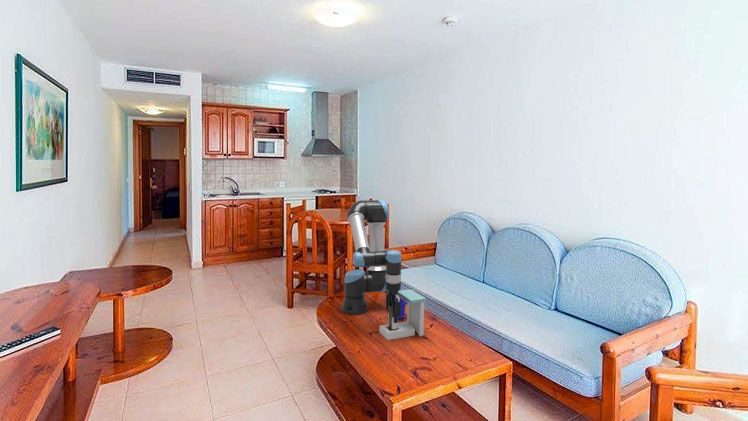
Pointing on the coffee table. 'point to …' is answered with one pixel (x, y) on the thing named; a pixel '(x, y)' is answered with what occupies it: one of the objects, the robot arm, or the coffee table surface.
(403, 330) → the station
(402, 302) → the mug
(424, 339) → the coffee table surface
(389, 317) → the peg
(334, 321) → the coffee table surface
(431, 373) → the coffee table surface
